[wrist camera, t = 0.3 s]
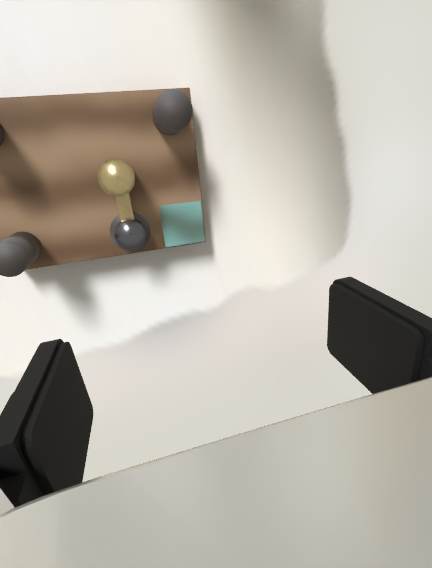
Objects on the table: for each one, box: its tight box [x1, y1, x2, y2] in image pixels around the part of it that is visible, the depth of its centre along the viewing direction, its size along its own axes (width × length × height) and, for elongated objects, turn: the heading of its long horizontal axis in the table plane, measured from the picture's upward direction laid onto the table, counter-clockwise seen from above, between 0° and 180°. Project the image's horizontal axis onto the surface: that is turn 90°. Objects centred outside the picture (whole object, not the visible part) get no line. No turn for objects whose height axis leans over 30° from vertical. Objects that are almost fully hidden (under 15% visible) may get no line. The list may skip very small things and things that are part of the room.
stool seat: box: [0, 88, 206, 277], centre depth 31 cm, size 16×22×8 cm
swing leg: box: [97, 159, 146, 250], centre depth 30 cm, size 9×3×5 cm, turn 6°
